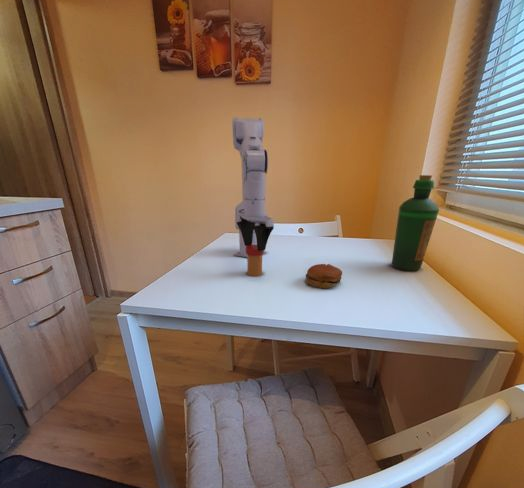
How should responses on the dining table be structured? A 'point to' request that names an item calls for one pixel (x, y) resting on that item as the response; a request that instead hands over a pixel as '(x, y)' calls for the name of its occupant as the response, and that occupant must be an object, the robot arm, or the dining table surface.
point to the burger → (323, 276)
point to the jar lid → (253, 250)
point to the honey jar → (254, 265)
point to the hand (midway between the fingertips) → (254, 247)
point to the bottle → (415, 226)
